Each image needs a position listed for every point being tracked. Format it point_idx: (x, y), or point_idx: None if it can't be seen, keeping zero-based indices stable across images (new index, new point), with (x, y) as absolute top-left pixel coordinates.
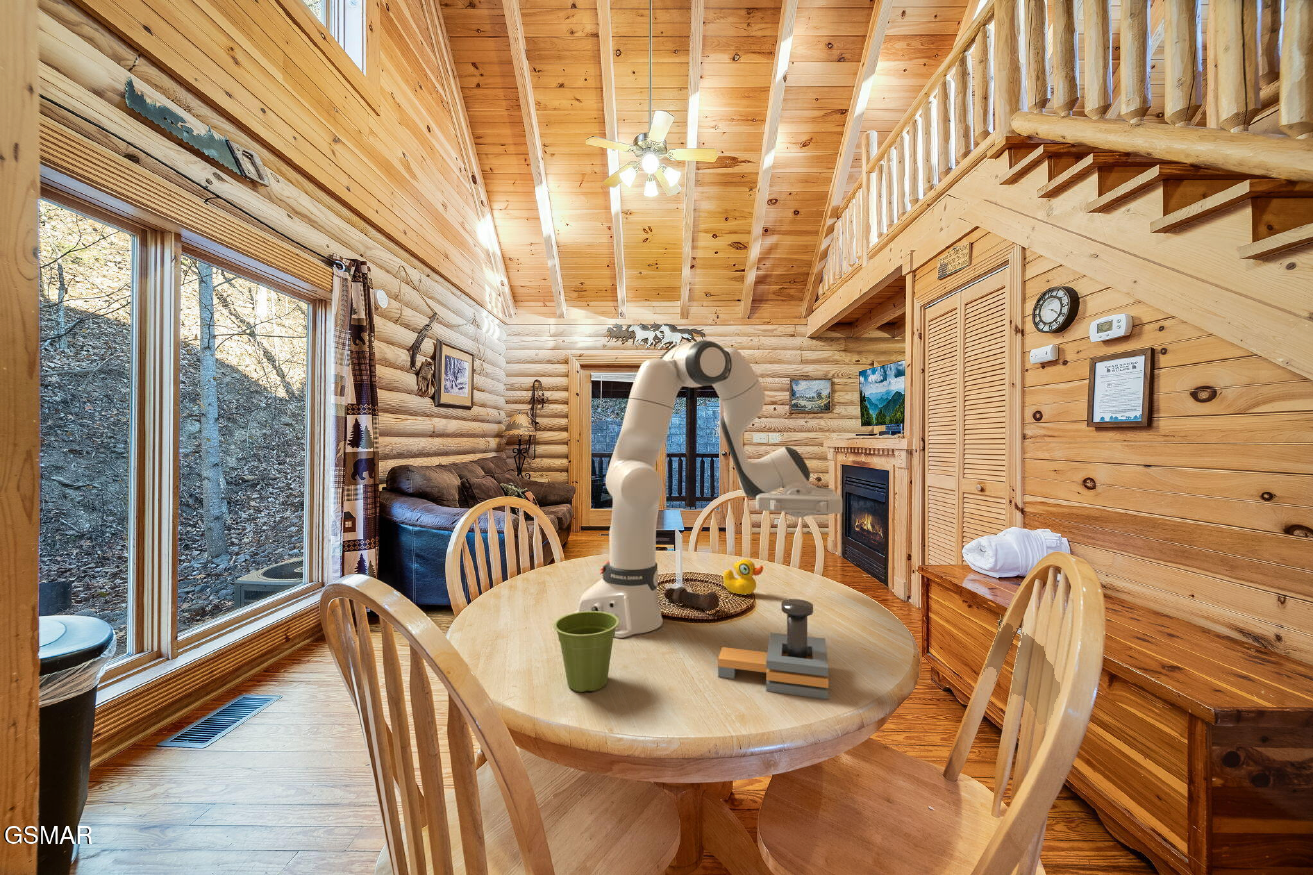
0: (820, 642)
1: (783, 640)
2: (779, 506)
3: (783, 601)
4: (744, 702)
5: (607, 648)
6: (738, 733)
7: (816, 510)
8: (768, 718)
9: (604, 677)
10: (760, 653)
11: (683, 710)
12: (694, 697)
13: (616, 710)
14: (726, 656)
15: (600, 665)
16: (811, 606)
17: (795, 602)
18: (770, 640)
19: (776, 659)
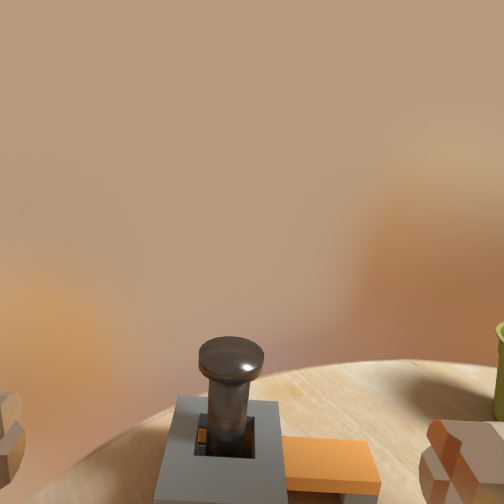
0: (170, 475)
1: (253, 471)
2: (433, 436)
3: (260, 360)
4: (298, 416)
5: (499, 364)
6: (291, 372)
7: (21, 439)
8: (262, 395)
9: (495, 404)
10: (297, 469)
11: (365, 394)
12: (367, 416)
13: (435, 385)
14: (356, 449)
15: (496, 378)
16: (203, 347)
17: (234, 358)
18: (281, 466)
19: (261, 405)
